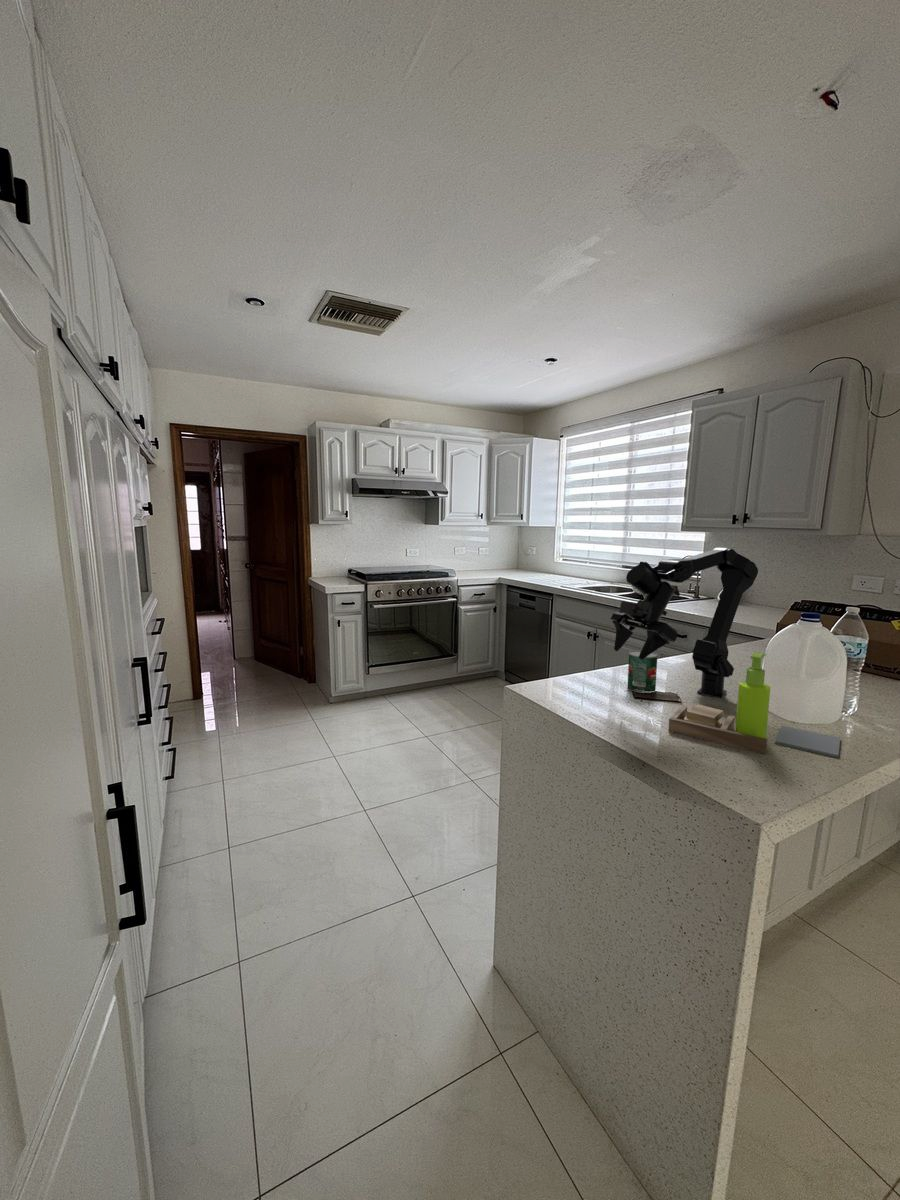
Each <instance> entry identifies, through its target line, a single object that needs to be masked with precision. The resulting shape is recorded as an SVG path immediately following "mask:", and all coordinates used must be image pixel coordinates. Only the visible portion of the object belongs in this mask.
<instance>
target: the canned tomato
mask: <svg viewBox="0 0 900 1200" xmlns="http://www.w3.org/2000/svg"><path fill="white" fill-rule="evenodd" d="M641 650H642V649H639V650H630V651H628V665H627V666H628V669H627V687H626V689H627V690H628V691H630V692H632V690H634V689H638V690H644V691H655V690H656V689H657V687H656V686H657V670H658V668H657V667H658V653H657V652H655V651H654V652H652V653H651V654H650V655H648V656H647V657H645V658H644V659H642V660H641V659H640V658H639V655H640V652H641ZM656 691H657V690H656ZM656 691H655V692H656Z"/></svg>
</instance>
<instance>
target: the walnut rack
mask: <svg viewBox="0 0 900 1200" xmlns="http://www.w3.org/2000/svg"><path fill="white" fill-rule="evenodd" d="M687 711H688V706H685V705H681V706H680V707H679V708H678V709H677V710H676V711H675V712H674V713H673V714H672V716H670V717H669V718H668V731H669V732H671V731H673V732H672V733H676V732H677V734H680V733H681V735H684V734H685V736H688V735H689V737H693V738H697V739H700V740H705V741H708V742H713V743H717V744H722V745H726V746H730V747H733V748H738V749H742V750H745V749H746V750H745V751H749V750H750V752H753V751H754V753H758V754H762V755H766V753H767V747H768V738H766V739H765V738H760V737H756V736H752V735H747V734H743V733H738V732H735V731H734V729H735V720H736V719H735V718H736V716H734V715H728V716H727V718H726V719H725V720H724V722H722V726H721V728H716V727H712V726H707V725H703V724H699V723H694V722H690V721H685V720H684V718H685V717H686V714H687Z"/></svg>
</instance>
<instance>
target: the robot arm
mask: <svg viewBox="0 0 900 1200" xmlns="http://www.w3.org/2000/svg"><path fill="white" fill-rule="evenodd" d="M713 567H716V568H717V570H718V571H719V572H721V575H720V581H721V584H722V591H721V595H720V597H719V600H718V603H717V606H716V608H715V611H714V614H713V616H712V620H711V623H710V626H709V628H708V631H707V634H706V636H705V637H703V638H702V639H700V638H697V640H696V641H695V644H694V647H693V649H692V650H691V652H692V658H691V659H692V660H693V665H694V669H695V670H697V671H701V682H700V683H701V686H700V688H699V689H698V690H697V691H696V693H697V694H698V695H704V696H710V697H715V698H720V699H723V697H725V695H726V694H727V690H725V689H724V687H725V678H730V677H731V676H733V674H734V670H735V668H734V665H733V664H731V662H730V661H729V660H728V657H729V648H728V645H727V639H728V637H729V633H730V631H731V629H732V624H733V621H734V619H735V616H736V614H737V610H738V608H739V605H740V602H741V599H742V597H743V594H744V593H745V592H746V591H747V590H749V589H750V588H751V587H752V586H753V584H754V582H755V581H756V578H757V576H758V573H759V567H758V566H757V564H756V563H755V562H754V561H751V559H749V558H748V557H745V556H743V555H741V554H739V553H738V552H737V551H735V549H733V548H731V547H715V548H713V549H711V550H708V551H704V552H701V553H699V554H695V555H692V556H688V557H685V558H669V559H668V558H667V559H662V560H660V561H659V562H658V564H657V565H654V566H651V565H650V564H649V562H647V561H639V563H638V564H637V565H635V566H633V568H631V569H630V570H629V571H628V572H627V574H626V578H625V579H626V582H627V583H628V584H629V585H631V587H633V588H634V589H636V591H638V592H640V594H643V595H645V597H644V598H643V599H639V600H637V603H634V602H629V601H624V600H621V602H620V606H619V610H618V611H616V612H613V614H612V615H611V617H610V620H611V621H612V624H613V625H614V627H615V641H614V647H613V650H614V651H616V652H618V651H619V650H620V649H621V648H622V647H623V646H624V645H625V643H626V642H628V640H629V638H630V637H631V636H632V635H633V633H634V632H633V630H635V629H638V630H639V629H641V630H644V631H646V635H647V638H646V639H645V642H644V644H643V646H642V647H641V649H640V650H641V652H640V655H639V658H640V659H641V660H642V659H644V658H645V657H647V656H648V655H650V654H651V653H652V652H654V653H655V652H656V651H658V649H660V648H662V647H664V646H665V645H669V644H671V643H675V642H676V640H677V638H678V635H679V634H678V631H677V630H676V629H675V628H673V626H672V625H669V624H668V623H666V622H662V621H660V620H661V617H662V616H663V617H665V616H666V615H667V614H668V612H667V611H666V608H667V606H668V605H669V603H670V600H672V597H673V596H674V597H680V596H681V594H680V591H679V586H677V585H673V584H670V583H678V584H679V583H684V582H685V581H687V580H689V579H691V578H692V577H693V575H694V574H696V573H698V572H700V571H703V570H708V569H710V568H713ZM669 582H670V583H669Z"/></svg>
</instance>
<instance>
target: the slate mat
mask: <svg viewBox="0 0 900 1200" xmlns="http://www.w3.org/2000/svg"><path fill="white" fill-rule="evenodd" d="M774 744H776V745H779V746H784V747H789V748H794V749H798V750H802V751H806V752H810V753H816V754H818V755H823V756H827V757H831V758H837V759H839V754H840V744H841V737H839V736H835V735H829V734H825V733H822V732H821V733H820V732H816V731H811V730H805V729H801V728H796V727H792V726H786V725H781V726H780V729H779V731H778V733H777V735H776V738H775V743H774Z"/></svg>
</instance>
